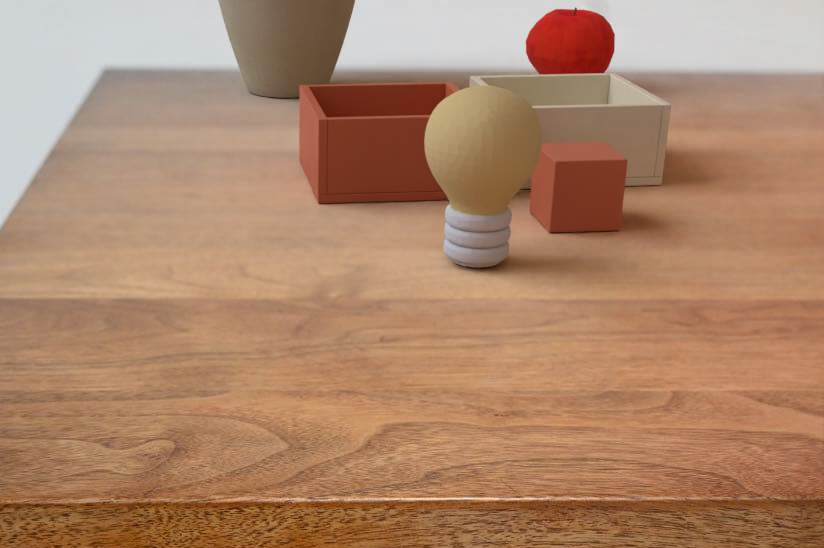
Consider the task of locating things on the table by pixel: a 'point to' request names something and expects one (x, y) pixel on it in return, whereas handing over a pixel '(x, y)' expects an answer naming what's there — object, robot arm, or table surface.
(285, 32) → the plant pot
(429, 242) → the table surface
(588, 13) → the apple
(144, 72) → the table surface
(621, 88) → the cream bin
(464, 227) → the light bulb
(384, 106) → the terracotta bin
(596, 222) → the terracotta block
